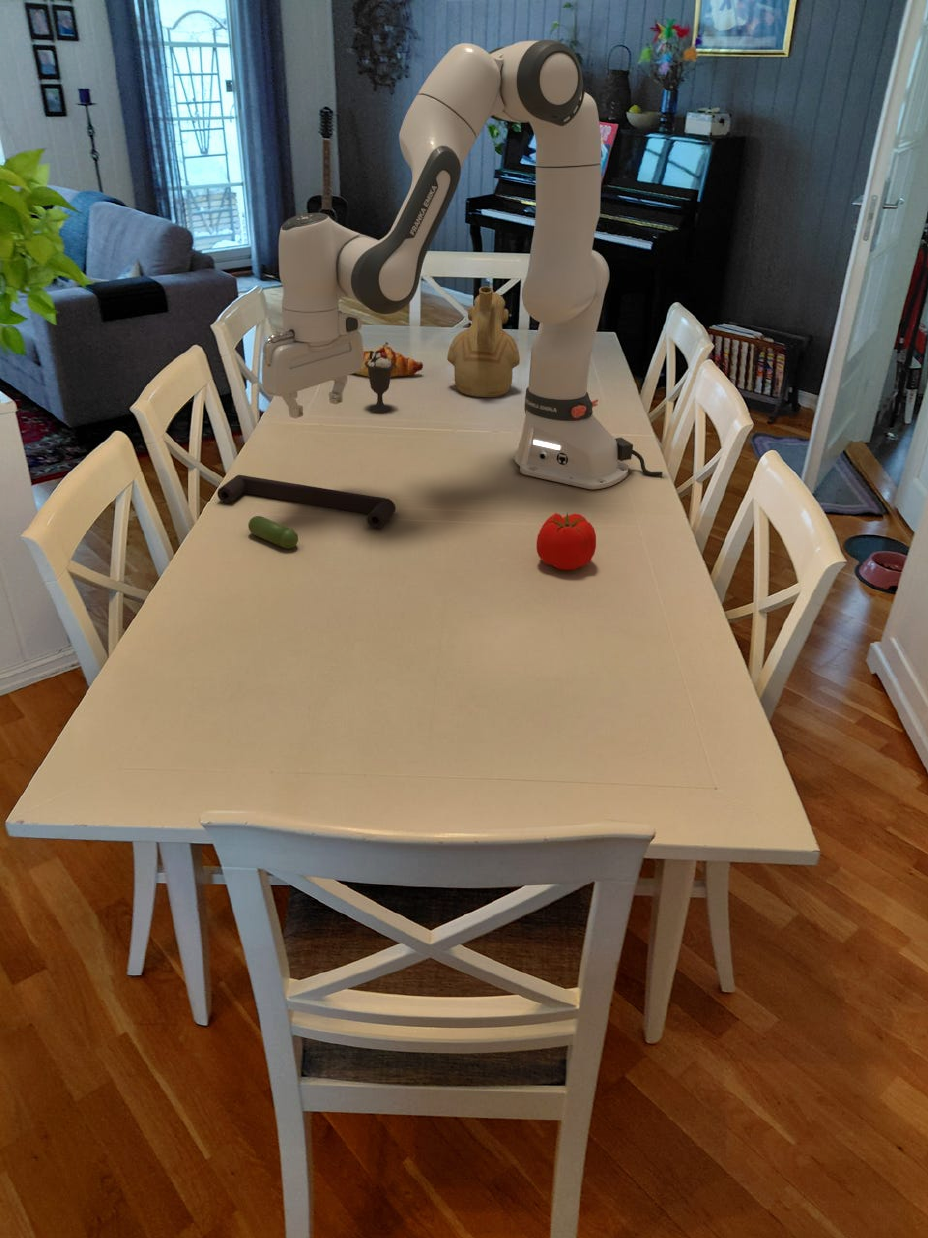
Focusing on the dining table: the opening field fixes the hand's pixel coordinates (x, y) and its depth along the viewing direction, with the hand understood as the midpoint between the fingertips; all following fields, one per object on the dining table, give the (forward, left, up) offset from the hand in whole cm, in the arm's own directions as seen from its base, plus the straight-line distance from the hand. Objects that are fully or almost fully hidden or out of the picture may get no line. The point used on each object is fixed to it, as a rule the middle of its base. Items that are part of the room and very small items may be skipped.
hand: (316, 409), depth 155 cm
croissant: (+43, -64, -17) cm, 78 cm away
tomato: (-45, -9, -17) cm, 49 cm away
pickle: (-6, +16, -16) cm, 24 cm away
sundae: (+25, -44, -17) cm, 53 cm away
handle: (-1, +4, -17) cm, 17 cm away
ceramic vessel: (+17, -71, -17) cm, 74 cm away
